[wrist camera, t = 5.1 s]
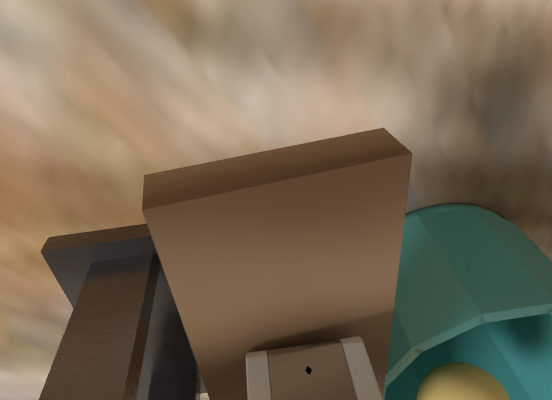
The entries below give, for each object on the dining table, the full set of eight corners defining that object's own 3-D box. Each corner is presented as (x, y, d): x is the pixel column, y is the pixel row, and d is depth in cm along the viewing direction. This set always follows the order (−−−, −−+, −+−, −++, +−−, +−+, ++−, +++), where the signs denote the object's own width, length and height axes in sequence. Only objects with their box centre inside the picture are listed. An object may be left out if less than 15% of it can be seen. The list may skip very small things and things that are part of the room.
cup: (335, 219, 21) (378, 330, 15) (540, 190, 21) (656, 287, 16) (336, 346, 28) (366, 458, 22) (494, 322, 28) (564, 425, 22)
